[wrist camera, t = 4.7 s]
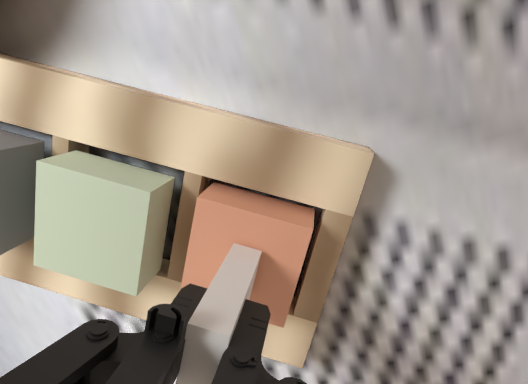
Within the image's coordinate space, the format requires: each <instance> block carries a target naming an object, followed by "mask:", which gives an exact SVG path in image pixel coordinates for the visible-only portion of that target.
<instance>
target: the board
mask: <svg viewBox="0 0 528 384" xmlns="http://www.w3.org/2000/svg"><path fill="white" fill-rule="evenodd" d="M0 121H2V122H6V123H9V124H13V125H17V126H20V127H24V128H28V129H31V130H35V131H39V132H43V133H46V134H50V135H53V137H52V156H56V155H60V154H64V153H67V152H71V151H75V150H77V151H81V152H85V153H88V154H89V146H94V147H98V148H102V149H105V150H109V151H113V152H116V153H120V154H124V155H127V156H131V157H135V158H138V159H142V160H146V161H149V162H153V163H157V164H160V165H164V166H168V167H172V168H175V169H179V170H183V171H185V173H184V179H183V185H182V191H181V197H180V203H179V209H178V215H177V221H176V227H175V233H174V239H173V246H172V252H171V258H170V260H167V259H164V258H162V263H161V269H160V270H159V271H158V273H157V274H156V275H155V276H154V277H153V278H152V279H151V280H150V282H149V283H148V284H147V285H146V286H145V287H144V288H143V290H142V291H141V292H140V293H139V294H138V295H137V296H133V295H130V294H126V293H123V292H120V291H116V290H113V289H110V288H107V287H103V286H100V285H97V284H93V283H90V282H87V281H83V280H80V279H77V278H74V277H70V276H67V275H64V274H60V273H57V272H54V271H51V270H47V269H44V268H41V267H37V266H34V265H33V262H34V238H32V239H30V240H28V241H26V242H24V243H23V244H21V245H19V246H17V247H15V248H13V249H11V250H9V251H7V252H5V253H3V254H2V255H0V275H1V276H4V277H8V278H11V279H14V280H17V281H21V282H24V283H27V284H30V285H34V286H37V287H40V288H43V289H47V290H50V291H53V292H56V293H59V294H63V295H66V296H69V297H72V298H76V299H79V300H82V301H85V302H89V303H92V304H95V305H98V306H102V307H105V308H108V309H111V310H115V311H118V312H121V313H124V314H127V315H131V316H134V317H137V318H140V319H144V320H147V313H148V310H149V309H150V308H151V307H153V306H156V305H158V304H171V303H172V301H173V300H174V298H175V297H176V295H177V294H178V293H179V291H180V289H181V283H182V278H183V272H184V267H185V261H186V256H187V250H188V245H189V239H190V234H191V228H192V223H193V217H194V212H195V206H196V201H197V197H198V196H199V195H200V194H201V193H202V192H203V191H205V190H206V189H207V188H208V187H209V184H210V178H212V179H216V180H219V181H223V182H227V183H231V184H234V185H238V186H242V187H245V188H249V189H253V190H256V191H260V192H264V193H267V194H271V195H275V196H278V197H282V198H286V199H289V200H293V201H297V202H301V203H304V204H308V205H312V206H315V207H319V208H322V211H321V214H320V218H319V221H318V224H317V228H316V231H315V234H314V237H313V241H312V244H311V247H310V251H309V254H308V257H307V260H306V264H305V267H304V270H303V274H302V277H301V280H300V283H299V287H298V290H297V293H296V297H293V299H292V302H291V305H290V309H289V312H288V315H287V319H286V322H285V325H284V328H282V327H279V326H275V325H272V324H268V328H267V333H266V337H265V341H264V346H263V350H262V355H261V356H263V357H267V358H270V359H273V360H276V361H280V362H283V363H286V364H289V365H293V366H296V367H299V368H303V365H304V362H305V359H306V356H307V353H308V350H309V347H310V344H311V341H312V338H313V335H314V332H315V329H316V326H317V323H318V320H319V317H320V314H321V311H322V308H323V305H324V302H325V299H326V296H327V293H328V290H329V287H330V284H331V282H332V279H333V276H334V273H335V270H336V267H337V264H338V261H339V258H340V255H341V252H342V249H343V246H344V243H345V240H346V237H347V234H348V231H349V228H350V225H351V222H352V219H353V216H354V213H355V210H356V207H357V204H358V201H359V198H360V195H361V192H362V189H363V186H364V183H365V180H366V177H367V174H368V171H369V168H370V165H371V163H372V160H373V157H374V153H373V152H372V150H371V149H370V148H369V147H365V146H361V145H357V144H353V143H350V142H346V141H342V140H338V139H334V138H330V137H326V136H322V135H318V134H314V133H310V132H306V131H302V130H299V129H295V128H291V127H287V126H283V125H279V124H275V123H271V122H267V121H263V120H259V119H255V118H251V117H248V116H244V115H240V114H236V113H232V112H228V111H224V110H220V109H216V108H212V107H208V106H204V105H200V104H197V103H193V102H189V101H185V100H181V99H177V98H173V97H169V96H165V95H161V94H157V93H153V92H149V91H146V90H142V89H138V88H134V87H130V86H126V85H122V84H118V83H114V82H110V81H106V80H102V79H98V78H95V77H91V76H87V75H83V74H79V73H75V72H71V71H67V70H63V69H59V68H55V67H51V66H47V65H44V64H40V63H36V62H32V61H28V60H24V59H20V58H16V57H12V56H8V55H4V54H0Z"/></svg>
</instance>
